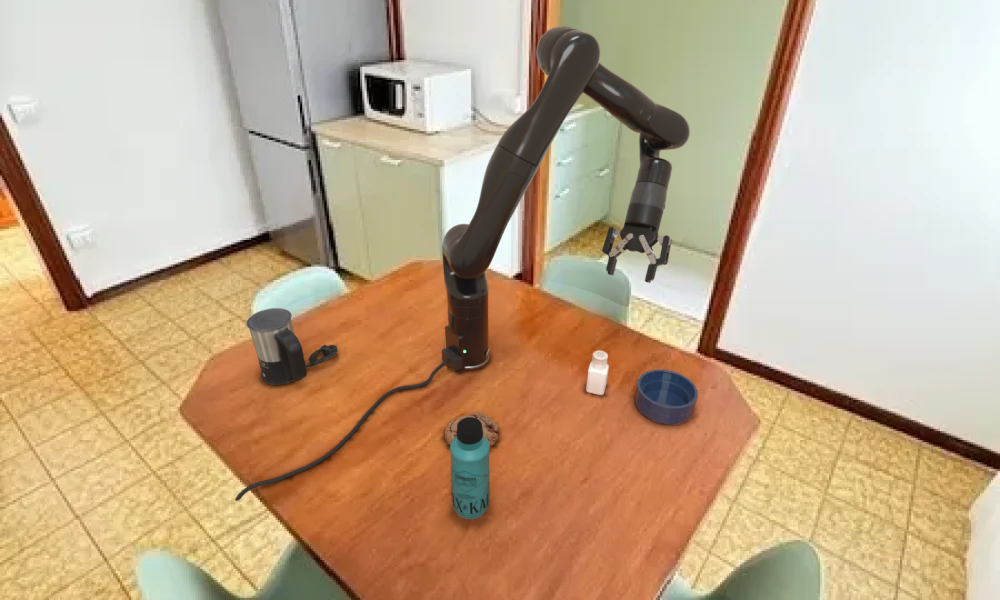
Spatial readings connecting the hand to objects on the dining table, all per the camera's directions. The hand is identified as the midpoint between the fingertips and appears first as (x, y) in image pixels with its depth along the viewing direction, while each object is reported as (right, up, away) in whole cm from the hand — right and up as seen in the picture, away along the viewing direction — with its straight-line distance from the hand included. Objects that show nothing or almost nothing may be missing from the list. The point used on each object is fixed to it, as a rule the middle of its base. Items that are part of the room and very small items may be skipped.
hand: (628, 278), depth 118 cm
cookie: (-34, -32, -11) cm, 48 cm away
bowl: (+7, -27, -3) cm, 28 cm away
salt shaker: (-7, -25, +1) cm, 26 cm away
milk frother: (-74, -20, +7) cm, 78 cm away
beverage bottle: (-33, -41, -26) cm, 59 cm away
